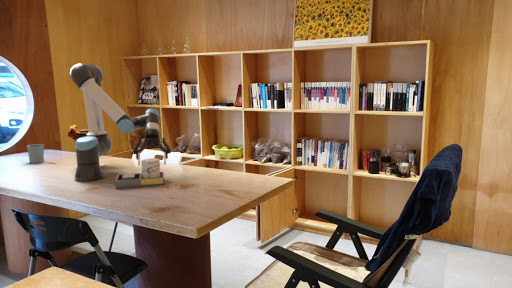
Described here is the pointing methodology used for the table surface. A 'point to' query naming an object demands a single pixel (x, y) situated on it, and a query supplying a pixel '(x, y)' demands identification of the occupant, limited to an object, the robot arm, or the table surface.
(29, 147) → the grey green cup
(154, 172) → the ink box
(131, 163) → the table surface
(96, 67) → the robot arm
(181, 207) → the table surface
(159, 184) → the grey compartment tray
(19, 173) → the table surface
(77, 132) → the decorative vase
